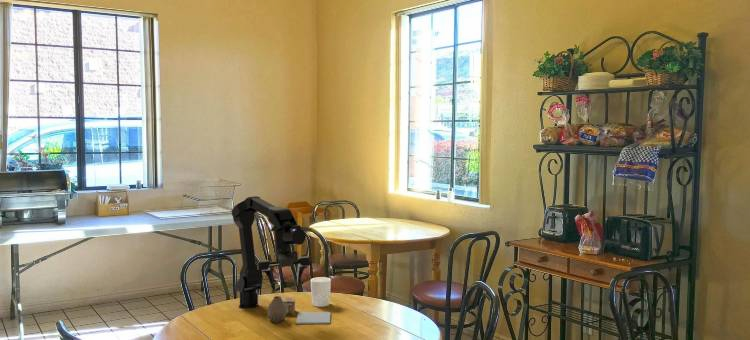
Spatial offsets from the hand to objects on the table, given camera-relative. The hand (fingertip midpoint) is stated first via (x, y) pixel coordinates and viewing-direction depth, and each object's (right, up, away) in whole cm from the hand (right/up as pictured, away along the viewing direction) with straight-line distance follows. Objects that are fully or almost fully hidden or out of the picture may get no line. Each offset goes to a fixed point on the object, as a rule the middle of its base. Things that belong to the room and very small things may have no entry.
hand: (285, 287), depth 226 cm
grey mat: (+10, -12, +3) cm, 16 cm away
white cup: (+11, -11, +21) cm, 26 cm away
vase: (-3, -13, +1) cm, 13 cm away
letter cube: (-1, -12, +11) cm, 16 cm away
